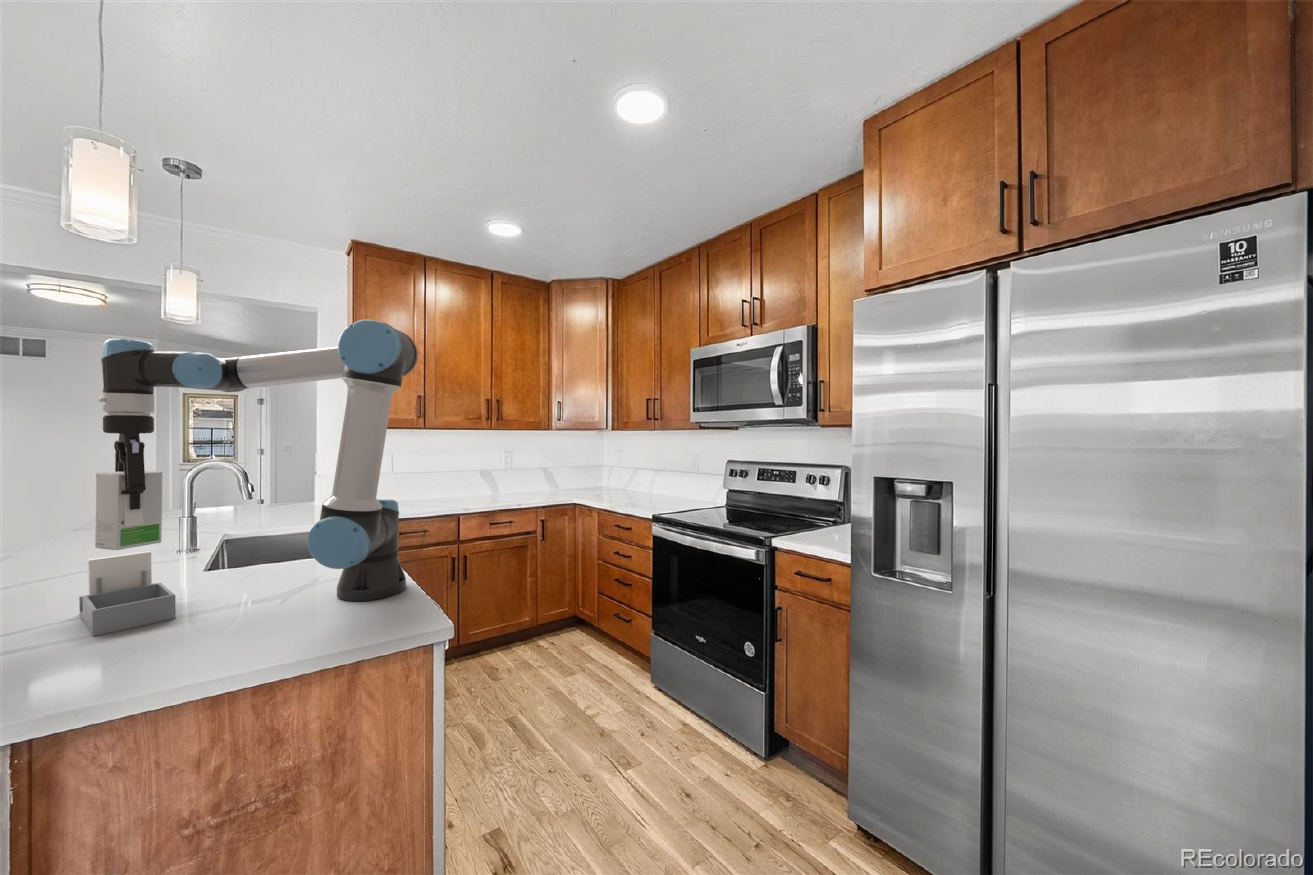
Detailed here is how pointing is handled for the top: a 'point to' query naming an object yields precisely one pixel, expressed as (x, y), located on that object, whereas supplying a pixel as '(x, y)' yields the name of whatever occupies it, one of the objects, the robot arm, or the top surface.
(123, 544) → the skincare box
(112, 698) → the top surface
